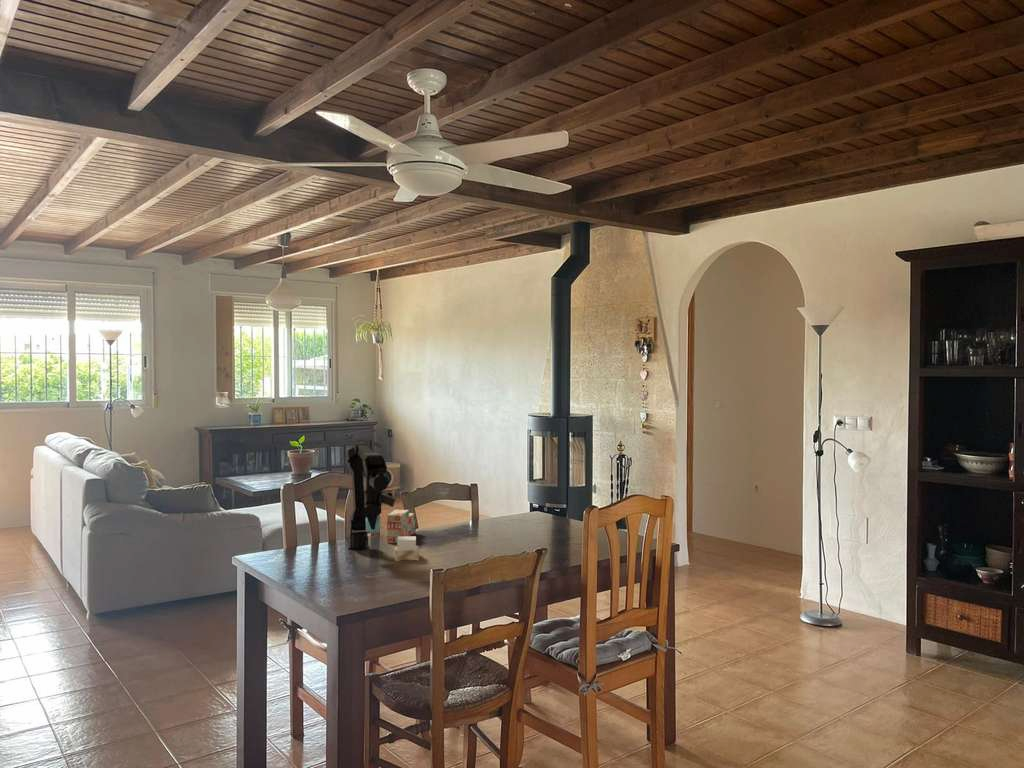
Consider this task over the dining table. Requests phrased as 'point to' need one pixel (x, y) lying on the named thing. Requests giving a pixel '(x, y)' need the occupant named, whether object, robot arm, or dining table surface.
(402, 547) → the white upper slab
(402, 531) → the beige printed box
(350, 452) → the robot arm
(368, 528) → the seafoam tapered dome
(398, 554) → the oak base slab
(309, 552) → the dining table surface
